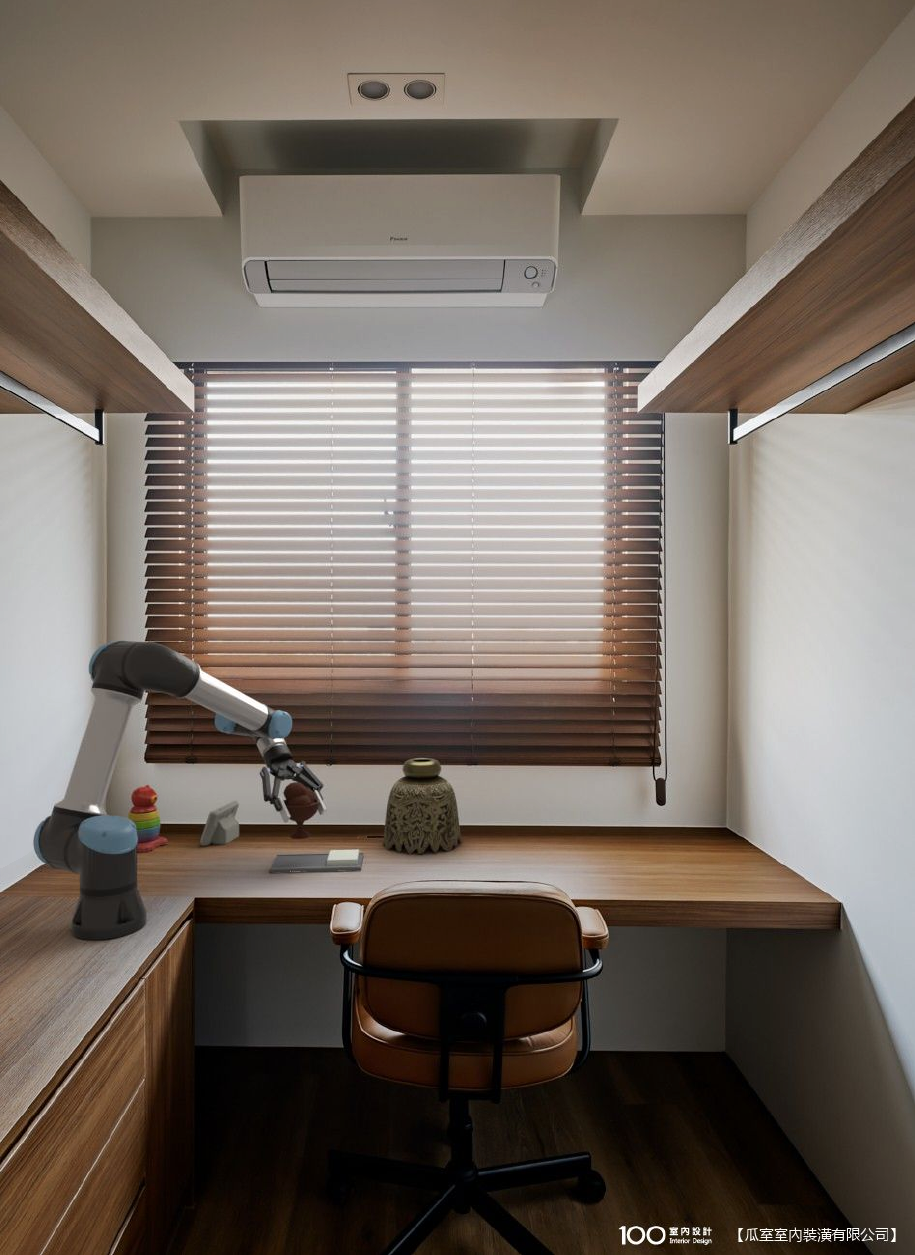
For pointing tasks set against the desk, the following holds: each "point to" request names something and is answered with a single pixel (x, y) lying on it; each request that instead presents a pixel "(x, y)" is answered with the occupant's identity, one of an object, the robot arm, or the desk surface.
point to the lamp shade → (422, 809)
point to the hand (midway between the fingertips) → (305, 816)
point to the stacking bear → (146, 819)
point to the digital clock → (221, 825)
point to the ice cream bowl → (300, 806)
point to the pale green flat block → (343, 858)
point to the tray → (308, 863)
